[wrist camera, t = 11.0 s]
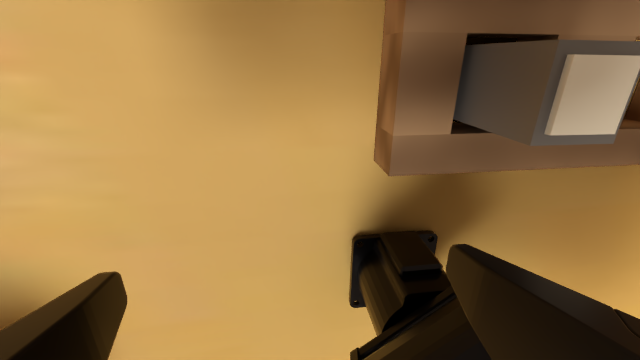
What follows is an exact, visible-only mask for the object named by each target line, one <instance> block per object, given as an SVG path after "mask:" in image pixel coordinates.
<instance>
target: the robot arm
mask: <svg viewBox="0 0 640 360" xmlns="http://www.w3.org/2000/svg"><path fill="white" fill-rule="evenodd" d="M431 236H432V237H431ZM429 237H431V238H430V239H428V238H429ZM358 242H362V243H361V244H357V243H358ZM436 244H437V235H436V234H435V233H434V232H433V231H418V232H415V231H405V232H391V233H383V234H376V235H362V236H356V237H355V238H354V239H353V241H352V254H351V273H350V292H349V302H350V305H351V307H353V308H359V307H367V310H368V313H369V315H370V318H371V321H372V324H373V326H374V329H375V332H376V335H377V337H375V338H374V339H372V340H371V341H369V342H368V343H366V344H365V345H363V346H362V347H360V348H356V349H354V350H353V351H352V352H350V360H640V319H638V318H636V317H633V316H631V315H629V314H626V313H624V312H622V311H620V310H617V309H613V308H612V307H610V306H608V305H606V304H603V303H601V302H599V301H596V300H594V299H592V298H589V297H587V296H585V295H583V294H580V293H578V292H576V291H573V290H571V289H569V288H566V287H564V286H562V285H559V284H557V283H555V282H553V281H550V280H548V279H546V278H543V277H541V276H539V275H536V274H534V273H532V272H530V271H527V270H525V269H523V268H520V267H518V266H516V265H513V264H511V263H509V262H506V261H504V260H502V259H500V258H497V257H495V256H493V255H490V254H488V253H486V252H483V251H481V250H479V249H476V248H474V247H472V246H470V245H467V244H457V245H452V246H451V247H450V250H449V255H448V260H447V265H446V273H445V271H444V270H443V269H442V268H443V266H442V264H441V263H440V261H439V260H438V259H437V258H436V256H435V250H436ZM356 300H357V301H356ZM354 301H356V302H354ZM126 306H127V295H126V291H125V288H124V284H123V281H122V278H121V275H120V274H119V273H118V272H103V273H99V274H97V275H95V276H93V277H92V278H90V279H88V280H87V281H85V282H83V283H81V284H80V285H78V286H76V287H75V288H73V289H71V290H69V291H68V292H66V293H64V294H63V295H61V296H59V297H57V298H56V299H54V300H52V301H51V302H49V303H47V304H45V305H44V306H42V307H40V308H39V309H37V310H35V311H33V312H32V313H30V314H28V315H27V316H25V317H23V318H22V319H20V320H18V321H16V322H15V323H13V324H11V325H10V326H8V327H6V328H4V329H3V330H1V331H0V360H108V357H109V355H110V352H111V349H112V346H113V343H114V340H115V338H116V335H117V332H118V329H119V326H120V323H121V320H122V318H123V315H124V312H125V309H126Z"/></svg>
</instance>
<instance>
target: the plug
mask: <svg viewBox="0 0 640 360" xmlns="http://www.w3.org/2000/svg"><path fill="white" fill-rule="evenodd" d="M639 76H640V41H601V40H562V39H559V40H543V41H526V42H510V43H494V44H477V45H465V51H464V57H463V63H462V69H461V74H460V80H459V86H458V92H457V98H456V104H455V110H454V116H453V119H454V120H457V121H460V122H463V123H465V124H468V125H471V126H474V127H477V128H480V129H483V130H486V131H488V132H491V133H494V134H497V135H500V136H503V137H506V138H509V139H511V140H514V141H517V142H520V143H523V144H526V145H529V146H545V145H583V144H613V143H614V141H615V138H616V135H617V133H618V130H619V128H620V125H621V122H622V120H623V117H624V115H625V112H626V109H627V107H628V104H629V102H630V99H631V96H632V94H633V91H634V89H635V86H636V83H637V81H638V78H639Z"/></svg>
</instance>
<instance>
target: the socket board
mask: <svg viewBox="0 0 640 360" xmlns="http://www.w3.org/2000/svg"><path fill="white" fill-rule="evenodd" d="M467 37H500V38H517V42H526V41H543V40H559V39H562V40H601V41H635V40H640V0H386V4H385V17H384V31H383V44H382V57H381V71H380V84H379V97H378V110H377V124H376V137H375V150H374V161H375V162H376V163H377V164H378V165H379V166H380V167H381V168H382V169H383V170H384V171H385V172H386V173H387V174H388V176H404V175H425V174H447V173H468V172H490V171H512V170H533V169H555V168H576V167H598V166H619V165H640V80H639V83H638V85H637V88H636V90H635V93H634V96H633V98H632V101H631V104H630V106H629V109H628V112H627V114H626V117H625V119H623V120H622V122H621V125H620V128H619V130H618V133H617V135H616V138H615V141H614V143H613V144H583V145H545V146H529V145H526V144H523V143H520V142H517V141H514V140H511V139H509V138H506V137H503V136H500V135H497V134H494V133H491V132H488V131H486V130H483V129H480V128H477V127H474V126H471V125H468V124H465V123H452V122H453V116H454V110H455V104H456V98H457V92H458V86H459V80H460V74H461V69H462V63H463V57H464V51H465V45H466V39H467Z"/></svg>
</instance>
